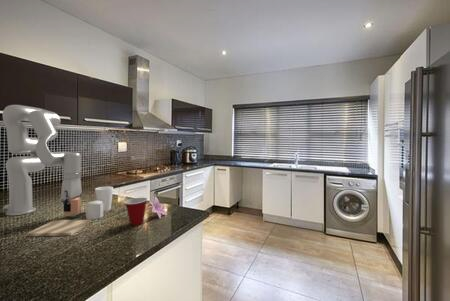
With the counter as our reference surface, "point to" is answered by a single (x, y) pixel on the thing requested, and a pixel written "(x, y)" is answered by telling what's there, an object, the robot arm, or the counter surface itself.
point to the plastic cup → (136, 210)
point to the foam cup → (104, 196)
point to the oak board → (59, 228)
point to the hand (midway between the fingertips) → (72, 208)
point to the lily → (157, 207)
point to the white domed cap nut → (94, 210)
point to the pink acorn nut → (73, 207)
